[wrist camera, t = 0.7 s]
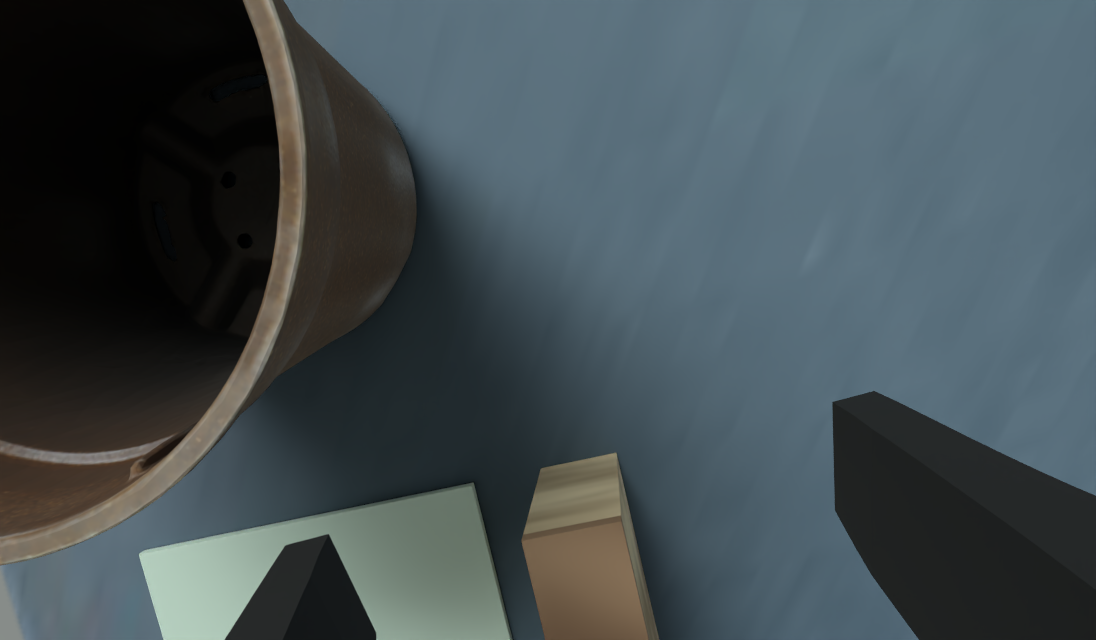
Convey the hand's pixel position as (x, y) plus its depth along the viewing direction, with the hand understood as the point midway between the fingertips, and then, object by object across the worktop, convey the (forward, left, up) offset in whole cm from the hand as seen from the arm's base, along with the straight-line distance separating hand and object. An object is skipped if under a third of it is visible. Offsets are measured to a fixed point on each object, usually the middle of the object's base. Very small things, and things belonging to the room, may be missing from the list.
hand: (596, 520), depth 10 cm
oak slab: (-10, +2, -19) cm, 22 cm away
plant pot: (+8, +12, -19) cm, 24 cm away
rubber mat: (-11, +14, -19) cm, 26 cm away
